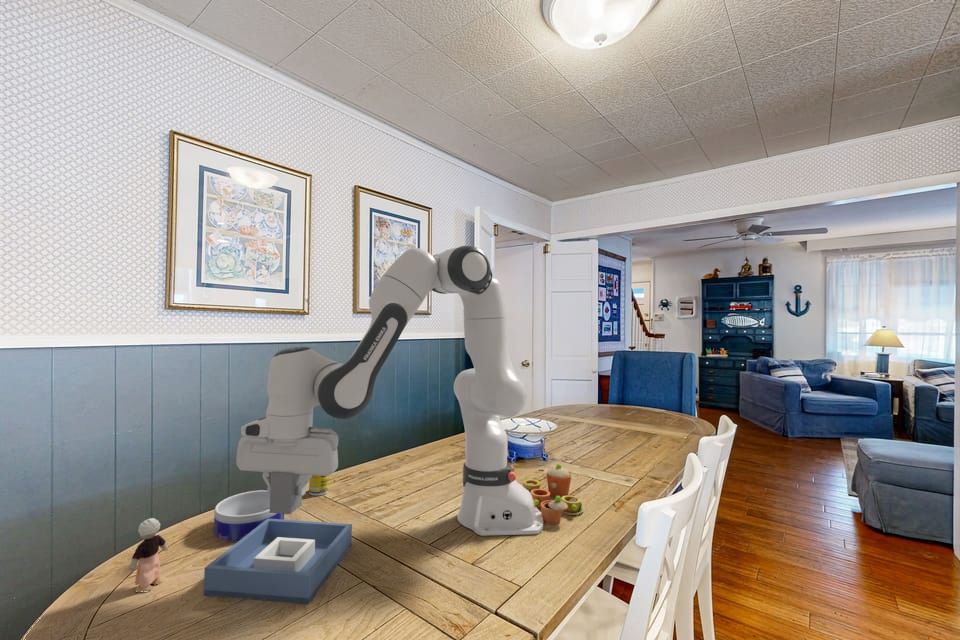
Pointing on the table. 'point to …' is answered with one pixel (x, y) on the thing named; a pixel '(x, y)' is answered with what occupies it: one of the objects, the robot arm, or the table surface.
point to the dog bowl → (242, 514)
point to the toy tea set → (557, 488)
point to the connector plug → (284, 492)
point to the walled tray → (279, 561)
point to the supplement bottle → (318, 485)
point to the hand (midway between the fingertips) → (286, 493)
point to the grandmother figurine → (148, 555)
